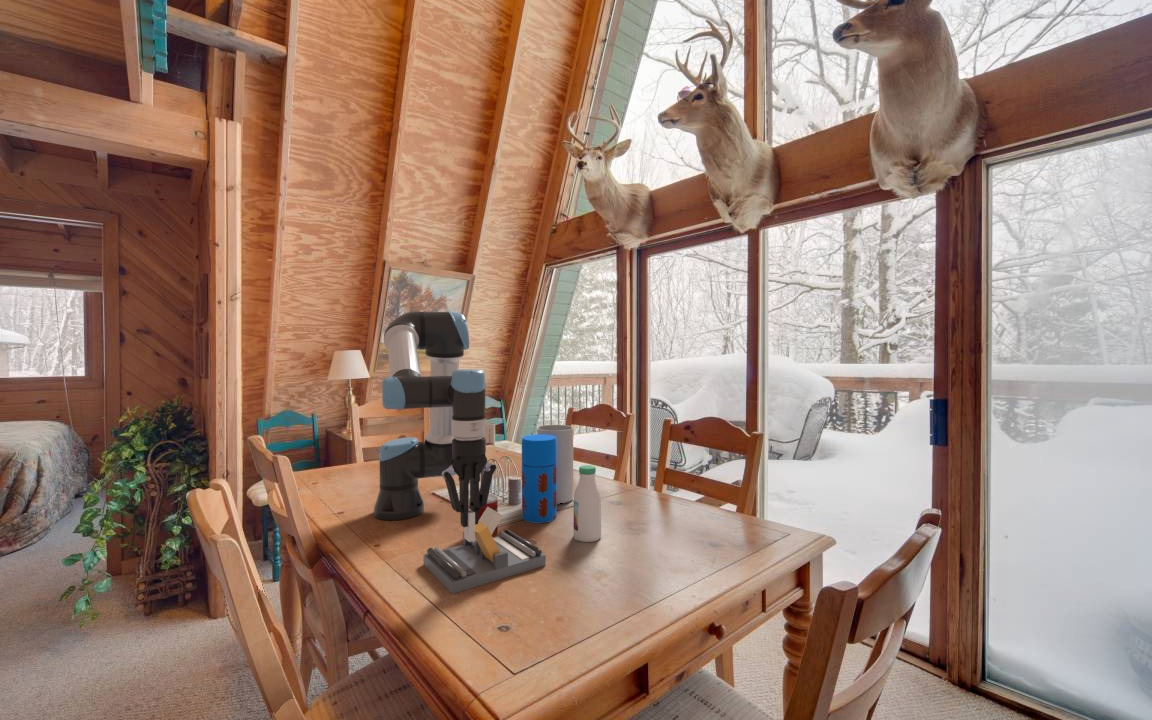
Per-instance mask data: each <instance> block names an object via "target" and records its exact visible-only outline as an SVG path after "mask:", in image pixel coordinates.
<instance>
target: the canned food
mask: <svg viewBox="0 0 1152 720" xmlns="http://www.w3.org/2000/svg"><path fill="white" fill-rule="evenodd" d="M487 507H489V508H491V509H493V510H494V511H496V512H498V509H499V508H498V507H499V506H498V496H497V495H495V494H490V493H489V495H488V499H487V504H486V506H485V507H482V508H480V509H481V510H480V512H478V521H479V519H480V518H481V516H482V515H483V513H484V511H485V510H486V508H487ZM469 509H471V508H470V497H469ZM498 513H499V512H498ZM498 525H499V524H498ZM498 525H497V527H496V528H495V530H494V532H493V533H492V537H496V536H498V534H499V533H498V530H499V529H498V528H499V527H498Z"/></svg>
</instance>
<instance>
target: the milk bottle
mask: <svg viewBox="0 0 1152 720" xmlns="http://www.w3.org/2000/svg"><path fill="white" fill-rule="evenodd" d="M596 471H597V468H596V466H595V465H589V464H588V465H587V464H585V465H580V466H579V468H578V472H579V473H578V475H579V480H578V484H577V486H576V488H575V490H574V492H573V538H574V539H575V540H576V541H578V542H581V543H593V542H597V541H599V540H600V539H601V537H602V499H601V498H602V495H601V492H600V488H599V486H598V484H597V481H596V477H595V476H596Z"/></svg>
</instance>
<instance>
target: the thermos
mask: <svg viewBox="0 0 1152 720" xmlns="http://www.w3.org/2000/svg"><path fill="white" fill-rule="evenodd" d="M556 462H557V441H556V437H555V436H552V435H537V434H527V435H525V436H522V438H521V510H522V511H521V512H522V520H524V521H525V522H528V523H532V524H542V523H543V524H545V523H549V522H553V521H554V520H555V519H556V518H557V507H558V506H557V505H558V504H557V463H556Z"/></svg>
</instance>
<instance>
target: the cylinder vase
mask: <svg viewBox="0 0 1152 720" xmlns="http://www.w3.org/2000/svg"><path fill="white" fill-rule="evenodd" d="M536 435H552V436H555V437H556V441H557V462H556V463H557V505H561V504H560V503H563V504H567V503H569V502H571V501H572V500H574V427H573V426H572V425H566V424H546V425H540V426H537V428H536Z"/></svg>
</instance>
